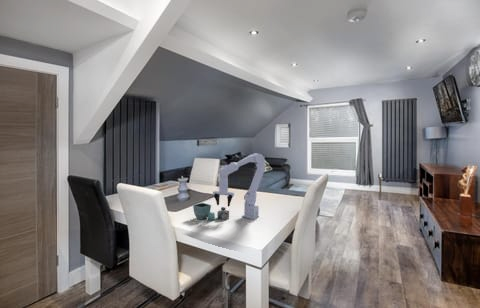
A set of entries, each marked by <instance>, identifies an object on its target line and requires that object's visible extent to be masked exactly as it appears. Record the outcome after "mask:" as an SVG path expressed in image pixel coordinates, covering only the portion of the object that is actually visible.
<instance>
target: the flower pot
mask: <svg viewBox="0 0 480 308" xmlns="http://www.w3.org/2000/svg"><path fill="white" fill-rule="evenodd" d="M192 208H193V213H194V216H195V217H196V219H197V220H198V219H199V220H205V219H208V213H209V212H211V208H212V205H211V204H209V203H206V202H200V203H196V204H193V205H192Z"/></svg>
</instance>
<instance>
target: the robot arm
mask: <svg viewBox="0 0 480 308" xmlns="http://www.w3.org/2000/svg"><path fill="white" fill-rule="evenodd" d="M265 161H266V160H265V157H264V155H262V154H261V153H257V152H254V153H252V154H249V155H248V156H246V157H244V158H242V159H240V160H238V161H237V162H235V161H233V162H230V163H229V164H227V165H224V166H223V167H221V168H219V170H218V175H219V176H218V177H219V179H218V181H219V185H218V190H213V191H212V195H213V198H214V200H215V202H216V206H219V205H220V195H221V196H226V197H227V207H228V208H229V207H230V206H231V202H232V200H233V198H234V196H235V192H233V191H228V190H229V182H228V181H229V179H228V177H229V175H230V174H232V173H234V172H236V171H238V170H239V168H240V167H242V166H243V165H246V164H248V163H254V164H255V166H256V170H255V173H254V175H253V177H252V181H251V184H250V186H249V188H248V189H247V191H246V193H245V194H244V195H243V200H244V212H243V213H244V214H243V215H241V217H243V218H246V219H251V220H254V219H256V218H258V217H260V215H259V214H260V213H259V209H260V208H259V206H258V205H257V204H256V201H257V191H258V188H259V186H260V183H261V181H262V178H263V176H264V173H265V170H266V162H265Z"/></svg>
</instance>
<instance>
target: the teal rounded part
mask: <svg viewBox="0 0 480 308" xmlns="http://www.w3.org/2000/svg"><path fill="white" fill-rule="evenodd" d="M215 213H216V212H213V211H210V212H209V213H208V217H207V221H208V222H213V221H215V219H216V215H215Z"/></svg>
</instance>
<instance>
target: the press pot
mask: <svg viewBox="0 0 480 308" xmlns="http://www.w3.org/2000/svg"><path fill="white" fill-rule="evenodd" d="M216 217H217V220H220V221H227V220H229V219H230V210H224V212H223V210H221V209H220V210H218V211H217V216H216Z"/></svg>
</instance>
